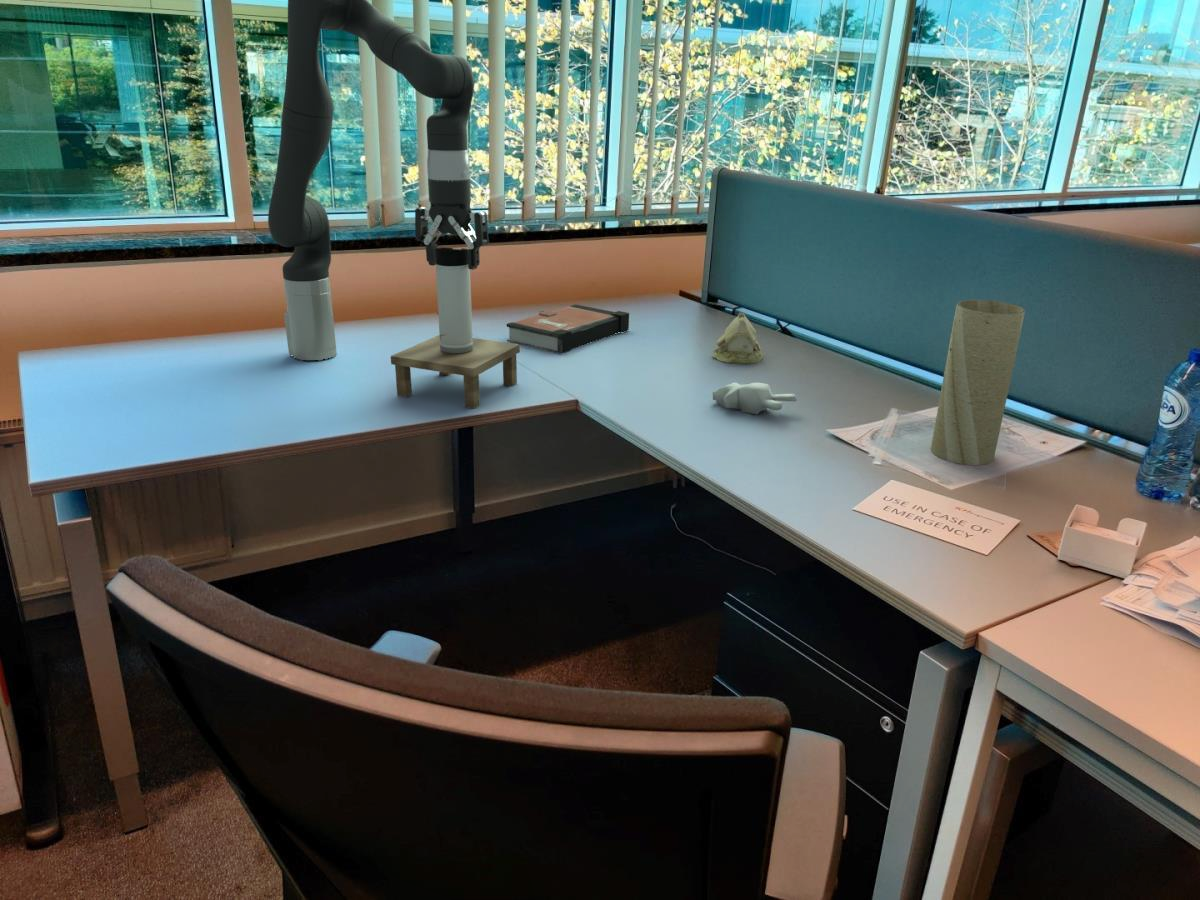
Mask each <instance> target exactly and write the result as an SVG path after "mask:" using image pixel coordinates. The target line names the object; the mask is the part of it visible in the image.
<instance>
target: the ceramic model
mask: <svg viewBox="0 0 1200 900" xmlns="http://www.w3.org/2000/svg"><path fill="white" fill-rule="evenodd" d="M723 332H724V333H723V334H722V335H721V336H720V337H718V338H717V339H716V346H718V348H715V350H714V351H713V354H712V358H714V359H716V360H718V361H720V362H723V363H731V364H733V363H734V364H735V363H736V364H737V363H738V364H756V363H758V362H761V361H762V360H763V358H764V356H763V350H762V348H761V346H760V344H759V342H758V341H757V339H758V338H757V331H756V329H755V328H754V325H753V324H752V323H751V321H750V319H749V318H747V316H746V314H745V313H744V312H743V311H740V312H739V313H738V315H737V316H736V317H735V318H734V319H733V320H731V322H730V323H729V325H728V326H727V327H726V328H725V329H724V331H723Z"/></svg>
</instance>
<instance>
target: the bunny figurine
mask: <svg viewBox="0 0 1200 900" xmlns="http://www.w3.org/2000/svg"><path fill="white" fill-rule="evenodd" d="M770 387H771V386H770V385H769V384H767V383H764V382H751V383H748V384H747V383H746V384H740V383H738V382H731V383H730V384H727V385H725V386H722V387H721V388H718V389H716V390H714V391H712V400H713V401H716V403H717V404H718V405H719V406H720V407H722V408H726V409H735V410H736V409H739V411H741V412H742V413H744V414H745V413H746V414H754V415H758V414H760V412H762V411H763V412H764V411H766V410H767V409H768V410H771V411H780V410H782V408H783V405H784V402H797V397H796V394H794V393H780V394H779V393H776V394H773V392H772V390H771V388H770Z"/></svg>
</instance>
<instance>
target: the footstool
mask: <svg viewBox="0 0 1200 900" xmlns="http://www.w3.org/2000/svg"><path fill="white" fill-rule="evenodd" d="M472 339H473V340H472V342H473V349H472V350H471V351H470V352H467V353H461V354H450V353H445V352H443V351H441V349H440V334H438V335H436V336H434V337H431V338H428V339H427V340H425V341H422V342H420V343H418V344H415V345H413V346H411V347H408V348H406V349H403V350H401V351H399V352H396V353H394V354H392V355H390V364H391V365H394V370H395V382H396V395H397V396H398V397H403V398H408V397H409V396H412V395H413V388H412V375H411V373H412V372H411V368H413V369H420V370H426V371H432V372H437V373H438V372H439V375H442V376H447V377H448V376H451V375H457V376H463V391H464V392H463V394H464V397H463V398H464V407H465V408H468V409H472V410H473V409H477V408H478V407H480V405H481V403H480V380H479V379H480V377H479V376H480V374H482V373H484V372H486V371H488V370H490V369H492V368H493V367H496V366H497V365H498V364H501V363H502V375H503V376H502V378H503V379H502V380H503V381H502V383H503V385H505V386H510V387H511V386H514V385H515V384H517V383H518V377H517V376H518V372H517V367H518V366H517V365H518V363H517V354H519V353H520V352H521V350H520V347H521V346H520V345H521V344H519V343H514V342H505V341H498V340H497V341H496V340H489V339H482V338H477V337H475V338H474V337H472Z"/></svg>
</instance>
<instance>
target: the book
mask: <svg viewBox="0 0 1200 900" xmlns="http://www.w3.org/2000/svg"><path fill="white" fill-rule="evenodd" d="M629 326H630V312H626V311H620V310H618V311H612V310H611V311H610V310H605V309H601V308H597V307H592V306H586V305H582V304H581V305H580V304H573V305H567V306H565V307H561V308H558V309H555V310H541V311H539V313H538V314H536V315H533V316H530V317H529V316H528V317H527V318H523V319H519V320H515V321H512V322H508V323H506V327H507V328H508V329H509V334H508V336H509V337H508V338H507V339H506V341H507V342H510V343H514V344H520V345H523V346H528V347H533V348H536V347H537V349H540V348H541V350H546V351H549V352H553V351H554V352H555V353H557V352H558V353H557V354H561V353H563V354H564V353H568V352H571V351H572V350H573V348H574V349H577V348H580V347H582V345H583V346H586V345H588V344H587V343H589V344H591V343H590V342H592V343H594V342H597V341H600V340H603V339H605V338H604V337H606V338H609V337H611V336H610V335H612V336H614V335H613V334H615V333H618V332H624V331H627V330H629V328H630V327H629ZM627 332H628V331H627ZM624 333H625V332H624ZM618 334H619V333H618ZM615 335H616V334H615ZM608 336H609V337H608ZM602 338H603V339H602ZM599 339H600V340H599ZM596 340H597V341H596ZM593 341H594V342H593ZM585 344H586V345H585ZM579 346H580V347H579ZM576 347H577V348H576ZM554 352H553V353H554Z"/></svg>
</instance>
